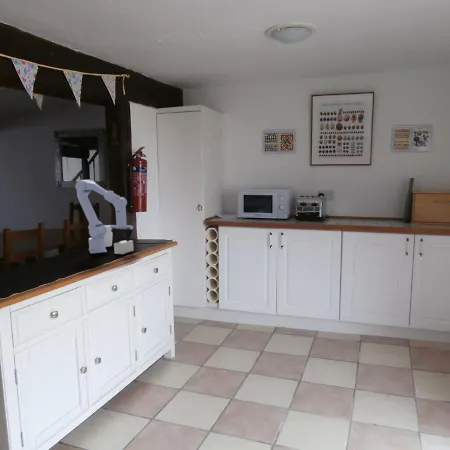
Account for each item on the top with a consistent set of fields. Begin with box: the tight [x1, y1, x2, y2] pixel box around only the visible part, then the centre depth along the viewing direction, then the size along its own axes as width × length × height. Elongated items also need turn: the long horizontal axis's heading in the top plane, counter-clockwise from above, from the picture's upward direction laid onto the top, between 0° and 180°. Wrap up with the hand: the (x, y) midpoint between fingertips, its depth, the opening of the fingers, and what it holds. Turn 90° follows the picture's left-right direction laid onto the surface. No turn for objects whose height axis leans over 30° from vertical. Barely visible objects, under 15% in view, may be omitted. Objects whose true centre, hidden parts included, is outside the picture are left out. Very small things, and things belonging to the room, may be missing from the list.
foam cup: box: [103, 224, 113, 248], centre depth 271 cm, size 10×9×13 cm
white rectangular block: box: [113, 239, 134, 255], centre depth 247 cm, size 11×6×6 cm, turn 159°
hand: (122, 241), depth 246 cm, fingers open, 7 cm apart
